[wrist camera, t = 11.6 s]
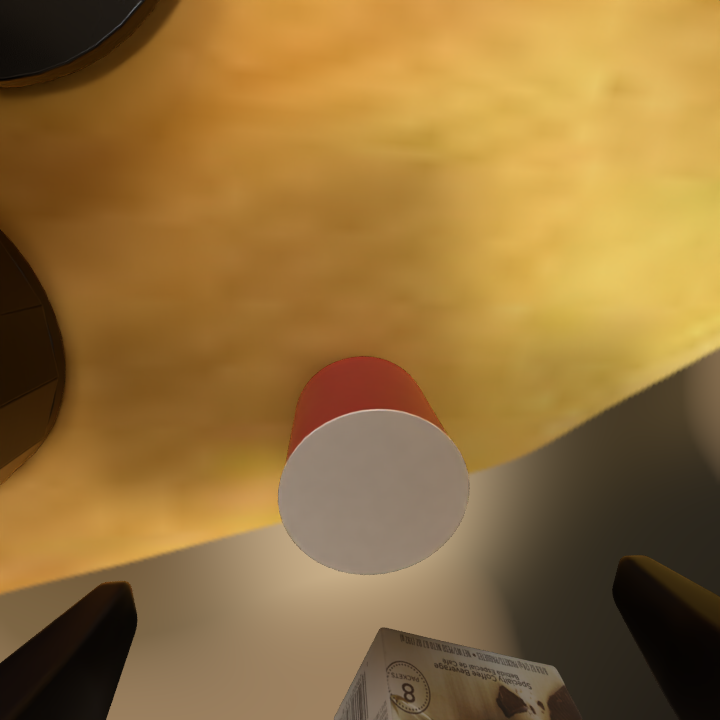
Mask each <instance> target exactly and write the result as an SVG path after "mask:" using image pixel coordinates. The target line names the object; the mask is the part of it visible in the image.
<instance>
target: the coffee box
mask: <svg viewBox="0 0 720 720" xmlns="http://www.w3.org/2000/svg"><path fill="white" fill-rule="evenodd" d="M334 720H583V719H582V717H581V715H580V713H579V711H578V709H577V707H576V705H575V703H574V701H573V700H572V697H571V696H570V694H569V692H568V690H567V688H566V686H565V684H564V682H563V680H562V678H561V676H560V674H559V673H558V671H557V669H556V668H555V667H554V666H551V665H546V664H542V663H537V662H532V661H528V660H523V659H519V658H515V657H510V656H506V655H501V654H497V653H493V652H489V651H484V650H480V649H475V648H470V647H466V646H462V645H457V644H453V643H449V642H444V641H440V640H435V639H431V638H427V637H423V636H418V635H414V634H410V633H406V632H402V631H397V630H393V629H388V628H381V629H379V631H378V633H377V635H376V637H375V639H374V641H373V643H372V645H371V647H370V649H369V651H368V653H367V655H366V657H365V658H364V660H363V663H362V664H361V666H360V668H359V670H358V672H357V674H356V676H355V678H354V680H353V682H352V684H351V686H350V688H349V690H348V692H347V694H346V696H345V698H344V699H343V701H342V703H341V705H340V707H339V710H338V712H337V713H336V715H335V717H334Z"/></svg>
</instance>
